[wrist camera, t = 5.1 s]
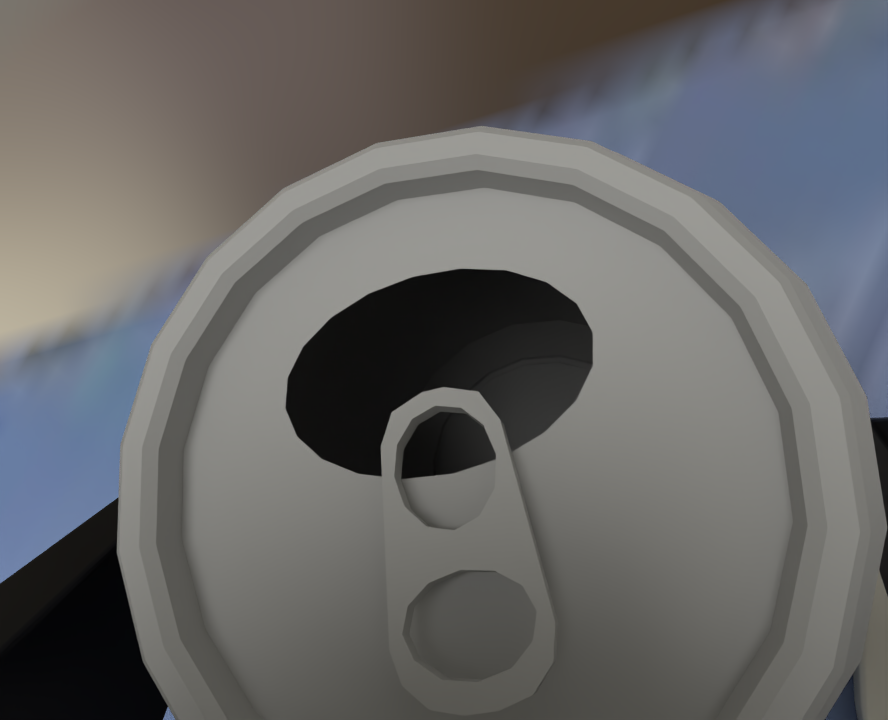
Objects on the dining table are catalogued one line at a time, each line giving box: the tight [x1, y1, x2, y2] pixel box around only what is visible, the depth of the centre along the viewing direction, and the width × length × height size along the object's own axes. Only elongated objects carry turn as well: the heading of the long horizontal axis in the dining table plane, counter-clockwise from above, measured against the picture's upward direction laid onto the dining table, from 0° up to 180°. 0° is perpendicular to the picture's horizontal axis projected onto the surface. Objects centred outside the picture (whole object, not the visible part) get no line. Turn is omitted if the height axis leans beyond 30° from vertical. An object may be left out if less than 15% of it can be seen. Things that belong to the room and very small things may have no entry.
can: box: [117, 126, 887, 720], centre depth 11 cm, size 8×8×12 cm
